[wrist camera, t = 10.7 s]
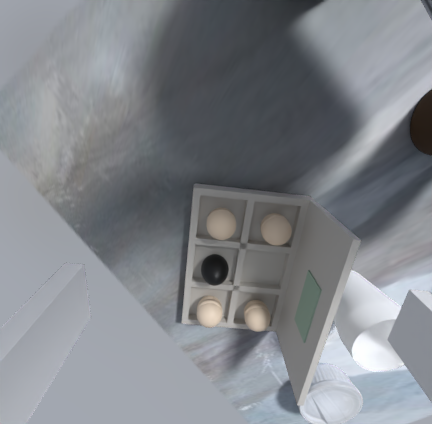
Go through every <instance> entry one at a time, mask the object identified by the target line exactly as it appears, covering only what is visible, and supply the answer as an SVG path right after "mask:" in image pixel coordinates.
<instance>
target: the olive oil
mask: <svg viewBox="0 0 432 424" xmlns="http://www.w3.org/2000/svg"><path fill="white" fill-rule="evenodd" d="M410 134H411V138H412V141H413V143H414V145H415V146H416V147H417V148H418V149H419V150H420V151H421V152H423V153H425V154H428V155H431V156H432V90H431V91H429V92H428V93H427V94H426V95H425V96H424V97H423V98H422V100H421V101H420V102H419V104H418V105H417V107H416V109H415V111H414V113H413V116H412V119H411V124H410Z"/></svg>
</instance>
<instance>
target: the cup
mask: <svg viewBox="0 0 432 424" xmlns="http://www.w3.org/2000/svg"><path fill="white" fill-rule="evenodd" d="M400 310H401V306H400V305H398V304H397V303H396V302H395V301H393V300H392V299H391V298H389V297H388V296H387V295H386V294H384V293H383V292H382V291H380V290H379V289H378V288H377V287H375V286H374V285H373V284H371V283H370V282H369V281H368V280H366V279H365V278H364V277H362V276H361V275H360V274H359V273H357V272H355V271H353V270H351V272H350V275H349V277H348V280H347V283H346V286H345V289H344V292H343V294H342V297H341V300H340V303H339V306H338V309H337V311H336V314H335V317H334V323H335V325H336V328H337V331H338V333H339V336H340V338H341V340H342V342H343V344H344V345H345V347H346V348H347V350H348V351H349V353H350V354H351V356H352V357H353V359H354V361H355V362H356V363H357V364H358V365H359V366H360V367H362V368H364V369H366V370H370V371H376V372H383V371H390V370H394V369H397V368H399V367H402V366H404V365H405V364H404V363H403V361H402V360H401V359H400V357H399V356H398V354H397V353H396V352H395V350H394V349H393V347H392V346H391V345H390V343H389V342H388V340H387V339H388V336H389V334H390V332H391V330H392V327H393V325H394V323H395V321H396V318H397V316H398V314H399V312H400Z"/></svg>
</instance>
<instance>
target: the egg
mask: <svg viewBox="0 0 432 424" xmlns="http://www.w3.org/2000/svg"><path fill="white" fill-rule="evenodd" d="M228 272H229V267H228V263H227V261H226V260H225V258H224V257H222V256H221V255H218V254H212V255H209V256H207V257H206V258H205V259H204V261H203V263H202V265H201V274H202V277H203V279H204V280H205V281H206V282H207V283H208V284H210V285H212V286H217V285H220V284H222V283H223V282H224V281H225V280H226V278H227V276H228Z"/></svg>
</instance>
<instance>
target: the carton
mask: <svg viewBox="0 0 432 424" xmlns="http://www.w3.org/2000/svg"><path fill="white" fill-rule="evenodd" d="M361 241H362V240H360V239H359V238H358V237H357V236H356V235H355V234H353V233H352V232H351V231H350V230H349V229H348V228H347V227H345V226H344V225H343V224H342V223H341V222H340V221H338V220H337V219H336V218H335V217H334V216H333V215H332V214H330V213H329V212H328V211H327V210H326V209H325V208H323V207H322V206H321V205H320V204H319V203H318V202H317V201H315V200H314V199H313V198H312V197H311V196H305V195H296V194H287V193H278V192H269V191H260V190H251V189H242V188H233V187H224V186H215V185H206V184H197V183H195V184H194V187H193V198H192V209H191V221H190V232H189V244H188V255H187V266H186V278H185V289H184V301H183V312H182V324H191V325H203V326H204V327H208V328H211V327H214V326H215V327H227V328H239V329H250V330H253V331H256V332H261V331H274V332H276V333H277V336H278V340H279V343H280V347H281V350H282V354H283V357H284V361H285V364H286V368H287V371H288V375H289V378H290V382H291V386H292V389H293V393H294V396H295V400H296V403H297V405H300V406H303V405H304V402H305V399H306V397H307V394H308V391H309V388H310V385H311V382H312V380H313V377H314V374H315V371H316V368H317V365H318V363H319V360H320V357H321V354H322V351H323V348H324V346H325V343H326V340H327V337H328V334H329V331H330V328H331V326H332V323H333V320H334V317H335V314H336V311H337V309H338V306H339V303H340V300H341V297H342V294H343V292H344V289H345V286H346V283H347V280H348V277H349V275H350V272H351V269H352V266H353V263H354V260H355V258H356V255H357V252H358V249H359V246H360V243H361ZM212 254H218V255H221V256H222V257H224V258H225V260H226V261H227V263H228V267H229V272H228V276H227V278H226V280H225V281H224V282H223V283H222V284H220V285H217V286H212V285H210V284H208V283H207V282H206V281H205V280H204V279H203V277H202V274H201V265H202V263H203V261H204V259H205V258H206V257H207V256H209V255H212Z"/></svg>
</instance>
